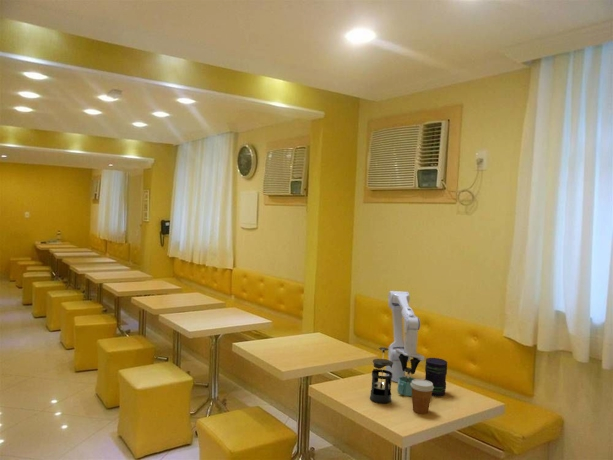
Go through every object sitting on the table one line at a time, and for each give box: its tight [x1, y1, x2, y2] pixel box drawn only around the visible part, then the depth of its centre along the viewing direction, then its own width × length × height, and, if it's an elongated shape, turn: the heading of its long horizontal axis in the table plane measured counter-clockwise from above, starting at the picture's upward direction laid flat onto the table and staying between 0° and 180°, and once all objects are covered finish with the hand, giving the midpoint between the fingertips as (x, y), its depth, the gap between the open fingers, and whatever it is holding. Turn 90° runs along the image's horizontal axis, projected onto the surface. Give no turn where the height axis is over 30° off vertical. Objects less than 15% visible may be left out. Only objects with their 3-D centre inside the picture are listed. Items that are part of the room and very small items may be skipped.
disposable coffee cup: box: [411, 378, 434, 415], centre depth 192 cm, size 10×10×12 cm
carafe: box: [397, 376, 416, 397], centre depth 212 cm, size 8×10×6 cm
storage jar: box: [424, 357, 448, 398], centre depth 214 cm, size 10×10×15 cm
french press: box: [369, 346, 393, 405], centre depth 202 cm, size 12×9×23 cm
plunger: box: [404, 366, 411, 383], centre depth 212 cm, size 6×6×8 cm
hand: (408, 372), depth 212 cm, fingers closed on plunger, 4 cm apart
